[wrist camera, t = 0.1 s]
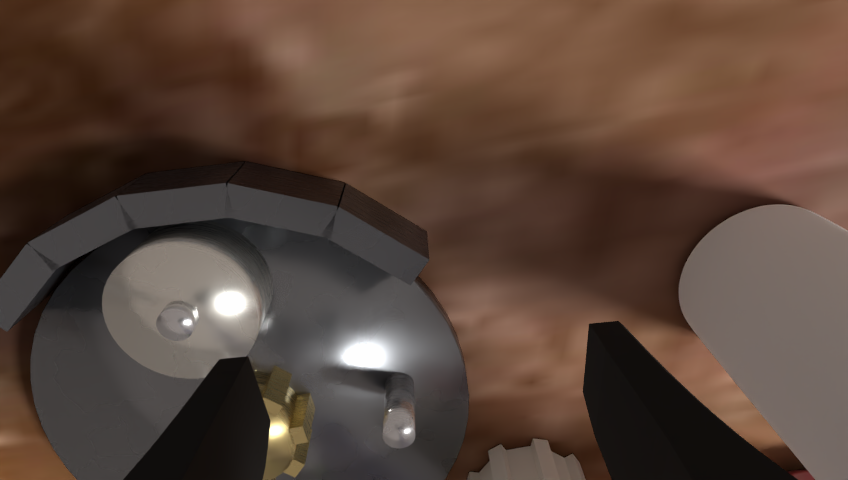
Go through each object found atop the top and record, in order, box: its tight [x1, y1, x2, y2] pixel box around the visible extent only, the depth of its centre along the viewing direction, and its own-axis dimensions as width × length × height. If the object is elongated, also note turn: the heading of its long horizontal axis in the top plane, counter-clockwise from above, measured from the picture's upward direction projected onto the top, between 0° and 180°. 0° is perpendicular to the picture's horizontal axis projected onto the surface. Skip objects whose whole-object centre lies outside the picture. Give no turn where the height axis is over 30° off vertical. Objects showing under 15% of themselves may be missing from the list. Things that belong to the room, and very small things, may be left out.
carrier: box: [0, 161, 469, 480], centre depth 23 cm, size 19×20×4 cm
